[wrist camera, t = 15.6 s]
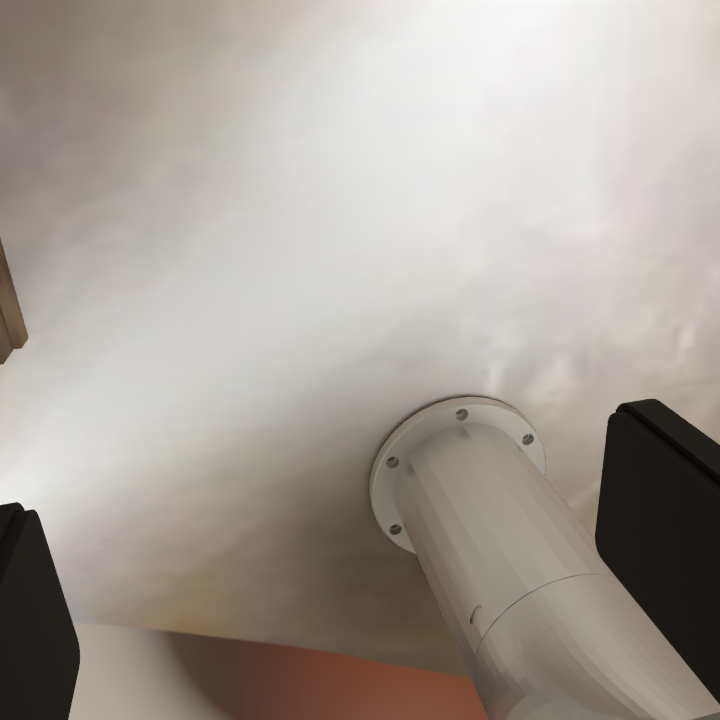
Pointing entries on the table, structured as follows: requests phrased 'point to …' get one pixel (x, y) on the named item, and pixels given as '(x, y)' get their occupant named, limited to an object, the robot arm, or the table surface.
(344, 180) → the table surface
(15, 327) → the wooden stepped riser
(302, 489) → the table surface
